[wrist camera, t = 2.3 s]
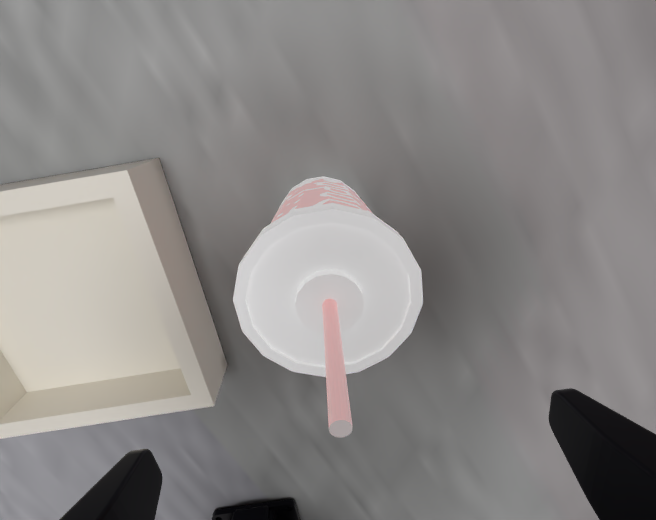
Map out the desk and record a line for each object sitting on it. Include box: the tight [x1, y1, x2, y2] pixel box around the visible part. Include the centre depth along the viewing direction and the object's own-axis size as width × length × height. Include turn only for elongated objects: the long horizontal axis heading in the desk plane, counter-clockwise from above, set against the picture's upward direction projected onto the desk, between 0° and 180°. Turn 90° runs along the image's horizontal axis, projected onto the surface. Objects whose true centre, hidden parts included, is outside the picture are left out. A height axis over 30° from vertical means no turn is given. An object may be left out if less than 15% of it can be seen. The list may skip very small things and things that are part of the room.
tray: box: [0, 158, 227, 439], centre depth 20 cm, size 13×13×4 cm
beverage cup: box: [233, 176, 423, 438], centre depth 14 cm, size 6×6×14 cm
